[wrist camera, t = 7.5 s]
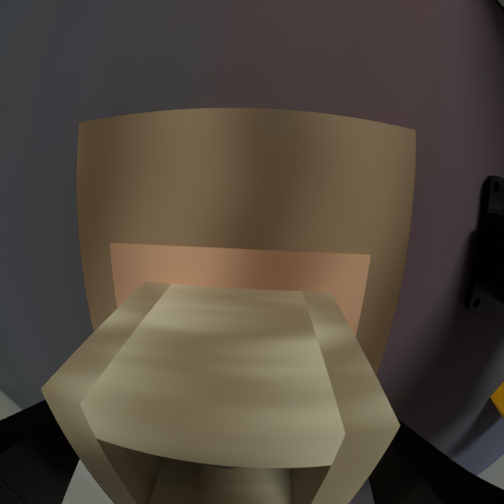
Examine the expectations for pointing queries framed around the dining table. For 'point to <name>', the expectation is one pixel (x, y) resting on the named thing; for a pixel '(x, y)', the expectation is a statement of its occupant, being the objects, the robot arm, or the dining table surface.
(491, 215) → the robot arm
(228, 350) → the collar
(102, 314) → the post board
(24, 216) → the dining table surface
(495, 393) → the pipe clamp
